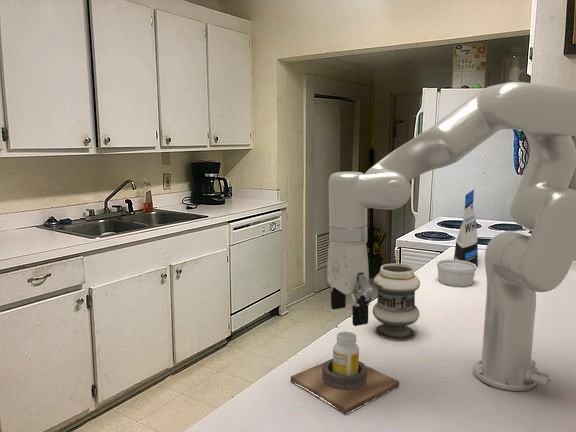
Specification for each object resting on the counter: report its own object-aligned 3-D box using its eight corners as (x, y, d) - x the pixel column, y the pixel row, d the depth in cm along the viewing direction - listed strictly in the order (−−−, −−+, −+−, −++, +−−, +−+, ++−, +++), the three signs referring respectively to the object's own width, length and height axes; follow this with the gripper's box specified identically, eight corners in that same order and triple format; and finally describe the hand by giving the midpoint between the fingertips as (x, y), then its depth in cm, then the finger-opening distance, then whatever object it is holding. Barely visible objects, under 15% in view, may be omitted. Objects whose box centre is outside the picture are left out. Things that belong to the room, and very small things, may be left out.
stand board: (399, 386, 98) (399, 370, 98) (345, 414, 88) (346, 396, 87) (343, 359, 110) (343, 344, 110) (290, 381, 100) (290, 365, 100)
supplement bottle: (335, 385, 96) (336, 341, 95) (330, 373, 101) (330, 330, 100) (361, 384, 97) (362, 340, 95) (354, 371, 102) (356, 329, 100)
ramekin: (483, 286, 166) (484, 266, 165) (453, 290, 161) (454, 270, 160) (457, 276, 178) (458, 258, 177) (428, 279, 174) (429, 261, 172)
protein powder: (448, 270, 186) (452, 194, 181) (458, 256, 207) (462, 188, 202) (473, 273, 181) (479, 195, 177) (481, 259, 203) (486, 189, 198)
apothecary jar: (362, 331, 126) (364, 266, 124) (390, 320, 134) (393, 258, 131) (399, 346, 117) (402, 276, 114) (427, 333, 125) (431, 267, 122)
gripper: (313, 228, 101) (315, 305, 104) (351, 244, 85) (352, 335, 88) (345, 225, 103) (346, 300, 106) (387, 240, 87) (387, 328, 90)
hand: (348, 315), depth 97 cm, fingers open, 9 cm apart
